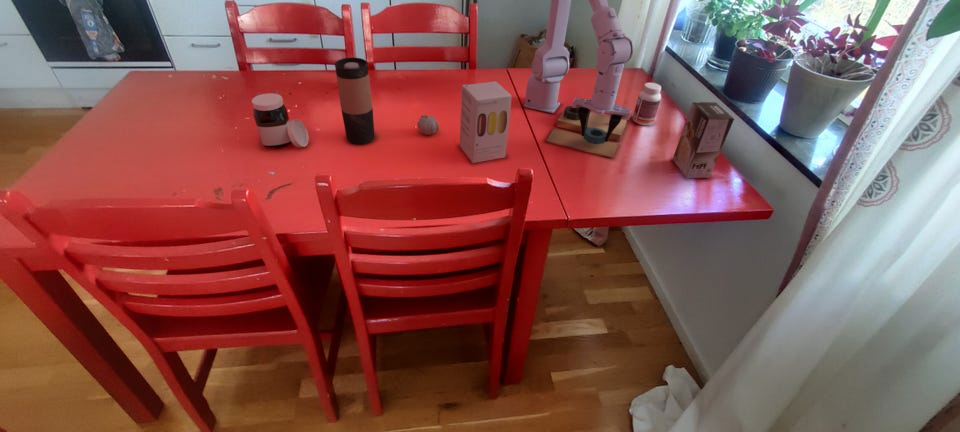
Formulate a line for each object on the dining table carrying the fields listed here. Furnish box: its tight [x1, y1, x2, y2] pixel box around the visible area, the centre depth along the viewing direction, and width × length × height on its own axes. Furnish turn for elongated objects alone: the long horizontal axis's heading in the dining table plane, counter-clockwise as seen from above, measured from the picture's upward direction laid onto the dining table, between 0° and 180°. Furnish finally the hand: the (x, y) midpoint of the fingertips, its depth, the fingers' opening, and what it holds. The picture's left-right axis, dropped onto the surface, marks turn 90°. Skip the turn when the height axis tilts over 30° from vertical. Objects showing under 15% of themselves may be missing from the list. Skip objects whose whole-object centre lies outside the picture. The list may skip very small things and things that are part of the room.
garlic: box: [417, 114, 440, 136], centre depth 123 cm, size 6×5×5 cm
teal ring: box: [584, 128, 607, 144], centre depth 121 cm, size 6×6×2 cm
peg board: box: [555, 107, 628, 142], centre depth 130 cm, size 18×10×6 cm, turn 66°
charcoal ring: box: [563, 105, 580, 121], centre depth 132 cm, size 6×6×2 cm
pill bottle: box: [632, 82, 662, 126], centre depth 133 cm, size 6×6×11 cm
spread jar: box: [251, 92, 310, 150], centre depth 113 cm, size 12×11×12 cm
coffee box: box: [672, 101, 735, 179], centre depth 112 cm, size 9×6×16 cm
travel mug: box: [334, 57, 375, 146], centre depth 114 cm, size 8×8×20 cm
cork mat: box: [545, 128, 619, 159], centre depth 124 cm, size 18×8×1 cm, turn 66°
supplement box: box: [459, 80, 513, 164], centre depth 113 cm, size 10×9×17 cm
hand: (594, 137), depth 121 cm, fingers closed on teal ring, 5 cm apart
